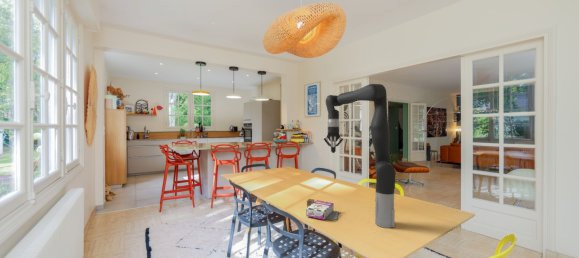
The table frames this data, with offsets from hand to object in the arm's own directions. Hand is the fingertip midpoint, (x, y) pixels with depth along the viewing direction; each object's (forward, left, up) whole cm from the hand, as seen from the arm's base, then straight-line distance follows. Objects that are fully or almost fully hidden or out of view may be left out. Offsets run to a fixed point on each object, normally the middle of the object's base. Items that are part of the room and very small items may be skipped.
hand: (333, 152), depth 155 cm
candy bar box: (+3, +9, -32) cm, 33 cm away
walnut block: (+14, +4, -35) cm, 38 cm away
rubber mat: (+3, +17, -35) cm, 39 cm away
